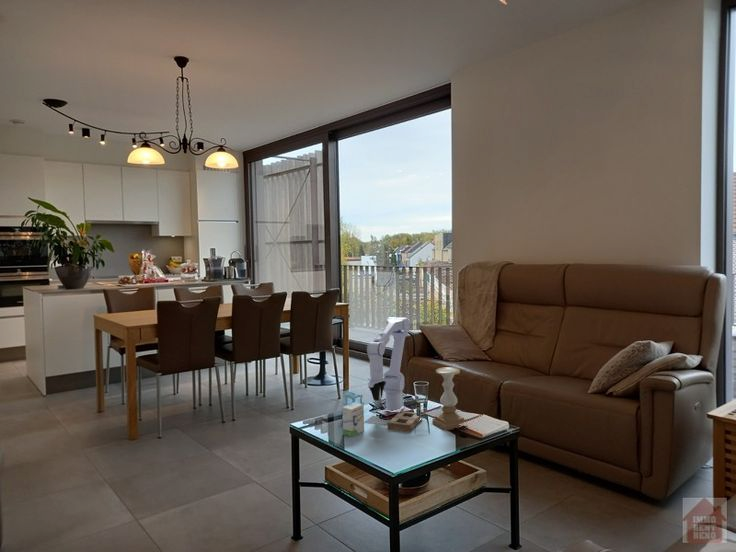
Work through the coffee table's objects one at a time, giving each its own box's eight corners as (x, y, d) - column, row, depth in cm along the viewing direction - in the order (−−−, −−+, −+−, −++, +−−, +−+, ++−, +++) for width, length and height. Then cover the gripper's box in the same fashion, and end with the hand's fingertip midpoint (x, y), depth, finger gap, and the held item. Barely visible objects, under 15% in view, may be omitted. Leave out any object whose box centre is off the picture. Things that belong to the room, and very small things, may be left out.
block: (400, 417, 239) (400, 411, 239) (422, 419, 235) (421, 413, 235) (387, 429, 225) (387, 422, 225) (409, 432, 221) (409, 425, 220)
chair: (366, 417, 241) (365, 391, 240) (353, 422, 235) (352, 395, 235) (355, 414, 247) (354, 388, 246) (341, 418, 241) (340, 392, 240)
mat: (372, 416, 243) (372, 415, 243) (393, 418, 239) (393, 417, 239) (363, 423, 234) (363, 422, 234) (384, 425, 230) (384, 425, 230)
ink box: (355, 428, 227) (354, 401, 227) (365, 431, 224) (363, 403, 223) (342, 435, 221) (341, 407, 220) (352, 437, 217) (351, 409, 217)
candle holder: (431, 423, 231) (430, 368, 229) (453, 418, 235) (451, 365, 234) (445, 430, 221) (444, 374, 219) (467, 426, 225) (466, 370, 224)
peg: (376, 404, 238) (375, 384, 237) (382, 405, 237) (381, 385, 236) (373, 406, 235) (372, 386, 234) (379, 407, 234) (379, 387, 233)
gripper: (374, 364, 243) (375, 393, 244) (361, 372, 230) (362, 403, 231) (389, 365, 240) (390, 395, 241) (376, 373, 227) (377, 404, 228)
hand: (377, 399), depth 236 cm, fingers closed on peg, 3 cm apart
